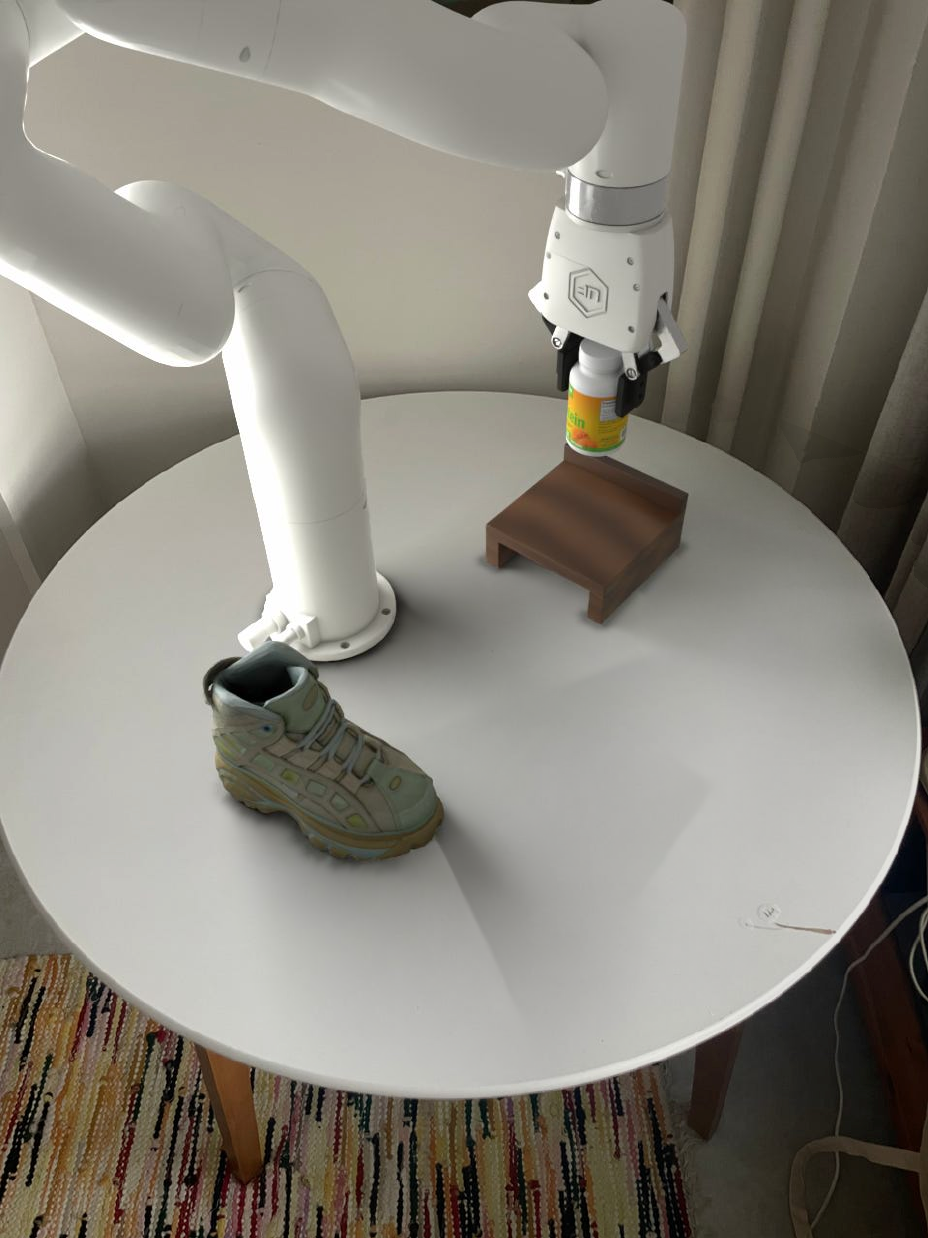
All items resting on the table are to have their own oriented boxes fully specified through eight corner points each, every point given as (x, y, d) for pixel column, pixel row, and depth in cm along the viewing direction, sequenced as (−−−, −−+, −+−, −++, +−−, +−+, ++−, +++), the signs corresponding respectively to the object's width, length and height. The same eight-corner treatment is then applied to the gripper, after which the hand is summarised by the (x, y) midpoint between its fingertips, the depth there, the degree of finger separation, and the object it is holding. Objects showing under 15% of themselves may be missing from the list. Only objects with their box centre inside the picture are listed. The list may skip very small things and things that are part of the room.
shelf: (600, 625, 97) (606, 571, 92) (485, 561, 103) (485, 508, 98) (679, 546, 104) (688, 493, 99) (567, 491, 111) (571, 438, 106)
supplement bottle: (555, 431, 94) (560, 337, 87) (607, 416, 95) (616, 322, 88) (582, 464, 91) (589, 369, 84) (636, 449, 92) (647, 354, 85)
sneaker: (373, 915, 77) (364, 787, 67) (197, 789, 85) (166, 659, 75) (461, 823, 83) (464, 693, 73) (290, 715, 92) (272, 586, 82)
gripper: (495, 178, 78) (495, 381, 92) (689, 243, 71) (658, 455, 84) (554, 146, 82) (546, 345, 95) (744, 204, 74) (706, 413, 88)
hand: (598, 395), depth 89 cm, fingers closed on supplement bottle, 5 cm apart
